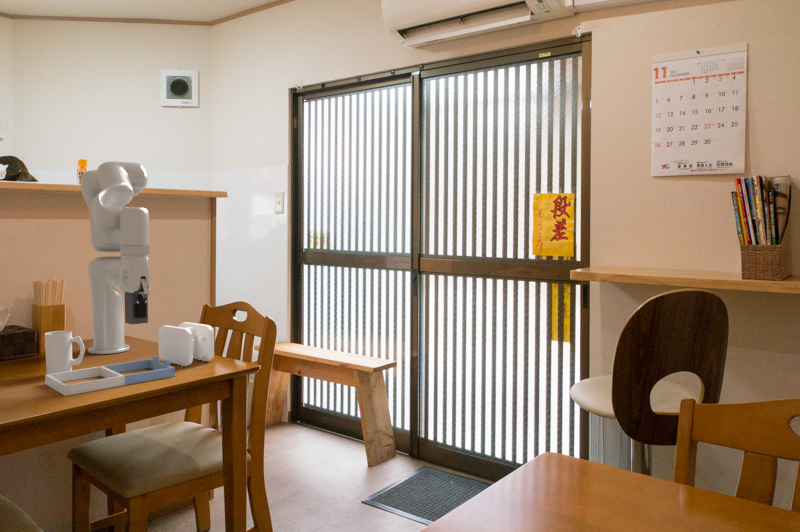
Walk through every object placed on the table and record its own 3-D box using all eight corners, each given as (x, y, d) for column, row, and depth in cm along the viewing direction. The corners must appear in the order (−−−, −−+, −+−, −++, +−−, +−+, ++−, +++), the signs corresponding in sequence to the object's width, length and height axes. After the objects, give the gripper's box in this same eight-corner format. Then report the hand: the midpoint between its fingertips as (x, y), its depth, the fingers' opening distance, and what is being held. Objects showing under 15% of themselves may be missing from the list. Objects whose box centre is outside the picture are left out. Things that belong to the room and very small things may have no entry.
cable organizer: (156, 362, 190) (155, 325, 189) (184, 356, 199) (184, 320, 198) (188, 368, 182) (187, 329, 181) (216, 361, 191) (215, 325, 190)
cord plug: (125, 322, 172) (124, 279, 171) (141, 320, 175) (140, 279, 174) (131, 324, 169) (130, 281, 168) (148, 322, 172) (147, 280, 171)
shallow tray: (45, 383, 163) (45, 368, 163) (151, 366, 183) (150, 353, 183) (64, 395, 152) (64, 379, 152) (174, 376, 173) (174, 361, 172)
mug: (41, 378, 169) (40, 335, 168) (51, 372, 176) (49, 331, 175) (81, 376, 171) (80, 334, 170) (88, 371, 178) (87, 330, 177)
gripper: (109, 250, 174) (111, 314, 175) (133, 252, 162) (135, 321, 163) (136, 250, 179) (137, 312, 180) (161, 252, 167) (162, 318, 168)
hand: (136, 315), depth 172 cm, fingers closed on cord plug, 4 cm apart
